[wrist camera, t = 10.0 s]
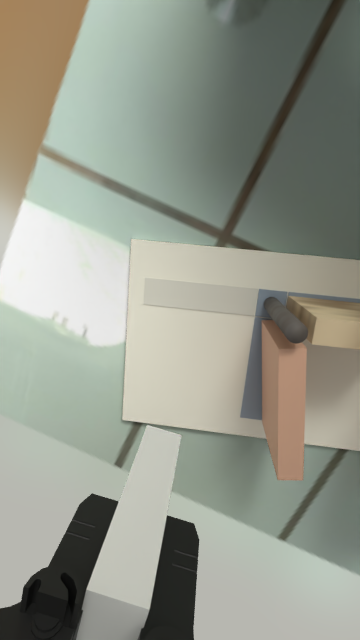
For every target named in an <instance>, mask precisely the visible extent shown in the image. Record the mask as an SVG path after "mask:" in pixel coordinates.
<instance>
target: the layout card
mask: <svg viewBox="0 0 360 640" xmlns="http://www.w3.org/2000/svg"><path fill="white" fill-rule="evenodd" d="M288 296H295V297H305V298H315V299H325V300H335V301H345V302H355V303H360V260H355V259H344V258H333V257H322V256H312V255H301V254H290V253H279V252H268V251H257V250H246V249H236V248H225V247H214V246H203V245H192V244H181V243H171V242H160V241H149V240H138V239H131V253H130V274H129V294H128V314H127V335H126V355H125V375H124V396H123V416H122V420H127V421H134V422H142V423H150V424H157V425H165V426H172V427H180V428H188V429H195V430H203V431H211V432H218V433H226V434H233V435H241V436H249V437H256V438H264V439H267V438H266V435H265V431H264V427H263V424H262V320H273V319H272V318H271V316H270V315H269V314H268V312H267V311H266V310H265V308H264V301H265V299H266V298H268V297H275V298H277V299H278V300H279V301H280V302H281V303H282V304H283V305H284V306H285V307H287V301H288ZM302 343H303V344H304V345H305V347H306V348H307V360H306V395H305V431H304V444H310V445H317V446H325V447H332V448H340V449H348V450H355V451H360V350H359V349H350V348H341V347H332V346H323V345H313V344H311V343H310V342H309V341H308V340H307V339H305V340H304V341H303V342H302Z"/></svg>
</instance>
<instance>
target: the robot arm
mask: <svg viewBox="0 0 360 640" xmlns="http://www.w3.org/2000/svg"><path fill="white" fill-rule="evenodd" d="M181 436H182V435H180V434H176V433H173V432H169V431H166V430H163V429H159V428H156V427H153V426H149V425H147V427H146V429H145V432H144V435H143V438H142V440H141V443H140V446H139V448H138V451H137V454H136V456H135V459H134V462H133V465H132V467H131V470H130V473H129V475H128V478H127V481H126V484H125V486H124V489H123V492H122V494H121V497H120V500H119V502H118V501H115V500H112V499H108V498H105V497H102V496H98V495H95V494H91V495H90V496H89V497H87V498H86V499H85V500H84V501H83V502H82V503H81V504H80V505H79V507H78V509H77V511H76V513H75V515H74V517H73V519H72V521H71V523H70V525H69V527H68V529H67V531H66V533H65V535H64V537H63V538H62V541H61V542H60V544H59V546H58V549H57V550H56V552H55V554H54V556H53V558H52V560H51V562H50V564H49V566H48V567H47V568H43V569H41V570H40V571H38V572H37V573H36V574H34V575H33V576H32V577H31V578H30V579H29V581H28V582H27V583H26V585H25V586H24V588H23V594H22V600H21V602H20V603H18V604H15V605H13V606H11V607H6V608H1V609H0V640H194V635H193V625H194V609H195V595H196V579H197V564H198V560H197V559H198V548H199V538H198V535H197V531H196V528H195V525H194V524H193V523H190V522H187V521H183V520H180V519H177V518H174V517H171V516H167V512H168V507H169V501H170V495H171V491H172V485H173V480H174V474H175V469H176V463H177V458H178V453H179V447H180V442H181Z"/></svg>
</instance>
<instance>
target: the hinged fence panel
mask: <svg viewBox="0 0 360 640" xmlns="http://www.w3.org/2000/svg"><path fill="white" fill-rule="evenodd" d="M306 360H307V348H306V347H305V345H304V344H303V343H302V342H301V343H298V344H295V343H291V342H290V341H289V340H288V339H287V338H286V337H285V335H284V334H283V332H282V331H281V330H280V328H279V327H278V326H277V324H276V323H275V322H274V320H262V424H263V427H264V431H265V435H266V438H267V442H268V446H269V450H270V453H271V457H272V461H273V464H274V468H275V472H276V475H277V479H278V480H303V466H304V431H305V395H306Z"/></svg>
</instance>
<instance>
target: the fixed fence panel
mask: <svg viewBox="0 0 360 640" xmlns="http://www.w3.org/2000/svg"><path fill="white" fill-rule="evenodd" d="M264 308H265V310H266V311H267V312H268V314H269V315H270V316H271V318H272V319H273V320H274V322H275V323H276V324H277V326H278V327H279V328H280V330H281V331H282V332H283V334H284V335H285V337H286V338H287V339H288V340H289V341H290V342H291V343H295V344H298V343H301V342H303V341H304V340H305V339H307V340H308V341H309V342H310V343H311V344H313V345H323V346H332V347H341V348H350V349H359V350H360V303H355V302H345V301H335V300H325V299H315V298H305V297H295V296H288V301H287V307H285V306H284V305H283V304H282V303H281V302H280V301H279V300H278V299H277V298H275V297H268V298H266V299H265V301H264Z"/></svg>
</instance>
